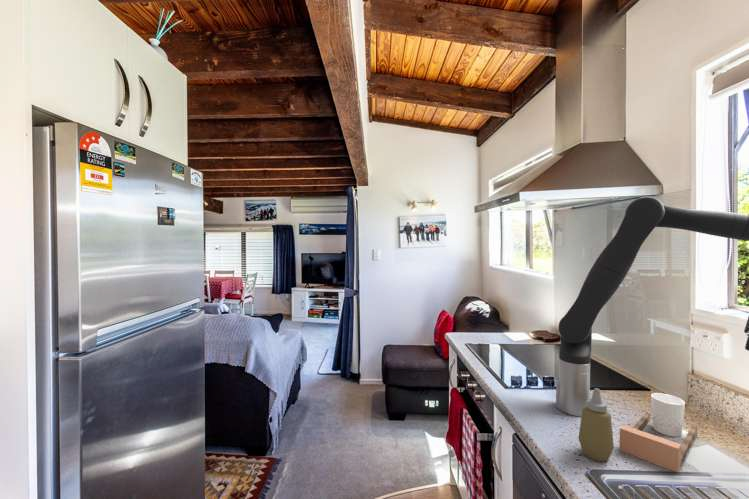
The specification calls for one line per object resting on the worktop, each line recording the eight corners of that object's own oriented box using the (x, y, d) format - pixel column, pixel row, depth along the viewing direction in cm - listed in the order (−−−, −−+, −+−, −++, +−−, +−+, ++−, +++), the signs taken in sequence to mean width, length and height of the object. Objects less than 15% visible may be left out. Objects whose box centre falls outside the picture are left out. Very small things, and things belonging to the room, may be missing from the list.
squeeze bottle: (615, 454, 94) (617, 388, 94) (611, 469, 88) (612, 398, 88) (581, 443, 100) (583, 380, 99) (575, 455, 94) (576, 389, 93)
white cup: (644, 426, 109) (645, 395, 109) (660, 422, 112) (661, 391, 111) (673, 440, 101) (674, 406, 101) (690, 435, 104) (691, 402, 104)
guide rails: (645, 418, 114) (645, 412, 114) (696, 434, 105) (697, 427, 105) (622, 445, 98) (622, 438, 98) (680, 467, 89) (680, 459, 89)
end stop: (622, 445, 98) (623, 424, 98) (680, 467, 89) (681, 444, 89) (619, 449, 96) (619, 428, 96) (678, 472, 87) (678, 448, 87)
